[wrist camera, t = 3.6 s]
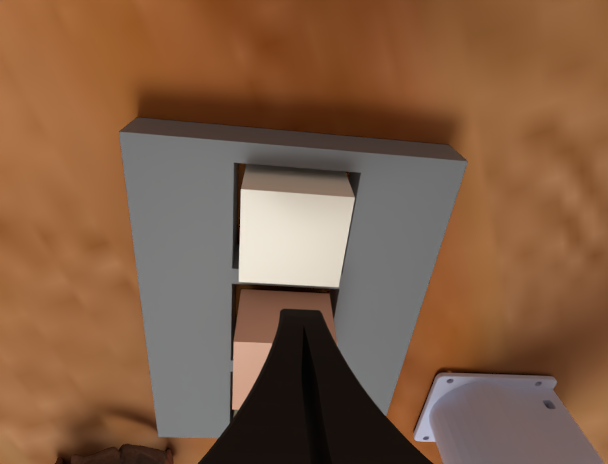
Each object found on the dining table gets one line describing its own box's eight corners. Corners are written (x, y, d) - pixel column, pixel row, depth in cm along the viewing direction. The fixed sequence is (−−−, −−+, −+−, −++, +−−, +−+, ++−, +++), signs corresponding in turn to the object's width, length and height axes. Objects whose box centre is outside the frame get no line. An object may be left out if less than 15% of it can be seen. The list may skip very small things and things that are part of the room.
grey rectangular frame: (448, 144, 21) (467, 161, 19) (371, 411, 32) (378, 440, 30) (137, 117, 20) (118, 131, 17) (167, 406, 31) (158, 437, 28)
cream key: (343, 165, 21) (354, 197, 18) (330, 245, 24) (338, 287, 20) (247, 157, 21) (240, 189, 17) (244, 240, 23) (238, 281, 20)
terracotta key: (329, 293, 23) (337, 345, 19) (318, 355, 25) (324, 411, 22) (241, 289, 22) (233, 341, 19) (239, 352, 25) (232, 409, 21)
